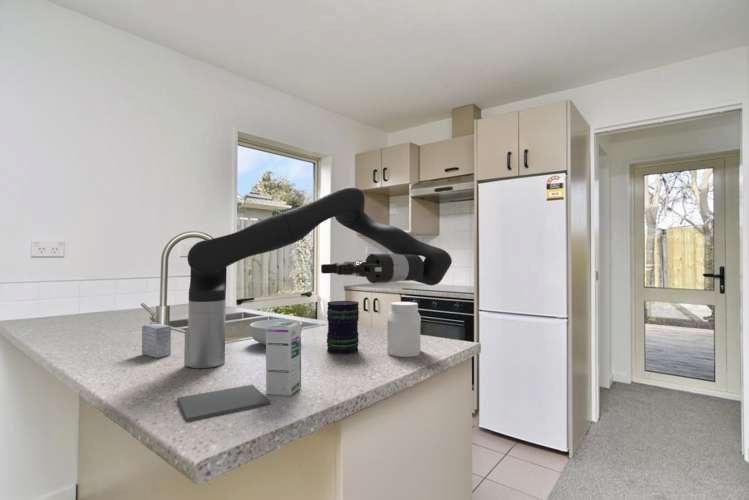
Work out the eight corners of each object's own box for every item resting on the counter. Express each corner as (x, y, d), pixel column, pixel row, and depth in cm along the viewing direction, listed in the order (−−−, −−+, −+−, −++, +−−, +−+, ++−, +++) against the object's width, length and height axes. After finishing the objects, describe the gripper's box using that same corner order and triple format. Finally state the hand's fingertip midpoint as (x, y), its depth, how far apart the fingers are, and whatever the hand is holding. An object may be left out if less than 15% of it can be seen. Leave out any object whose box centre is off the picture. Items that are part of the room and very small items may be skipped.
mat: (252, 387, 87) (252, 384, 87) (270, 404, 77) (270, 401, 77) (177, 400, 79) (177, 397, 79) (186, 421, 69) (186, 418, 69)
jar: (391, 347, 127) (391, 300, 127) (421, 348, 125) (421, 301, 125) (385, 356, 116) (386, 305, 116) (418, 357, 114) (418, 306, 114)
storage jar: (345, 356, 115) (346, 305, 115) (320, 351, 120) (320, 303, 121) (364, 349, 123) (365, 302, 124) (340, 345, 129) (340, 300, 129)
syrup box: (290, 396, 82) (291, 326, 82) (264, 394, 83) (265, 325, 83) (301, 387, 87) (302, 322, 88) (276, 385, 88) (277, 321, 89)
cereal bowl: (238, 347, 126) (238, 325, 126) (269, 337, 141) (269, 317, 141) (284, 352, 120) (284, 329, 120) (311, 341, 135) (311, 320, 135)
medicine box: (171, 355, 115) (171, 325, 115) (155, 358, 111) (156, 328, 111) (156, 351, 119) (157, 323, 119) (141, 354, 115) (141, 325, 116)
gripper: (371, 253, 107) (316, 253, 98) (403, 253, 95) (344, 253, 86) (371, 281, 107) (316, 283, 97) (403, 284, 95) (344, 287, 86)
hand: (329, 269), depth 92 cm, fingers open, 7 cm apart
